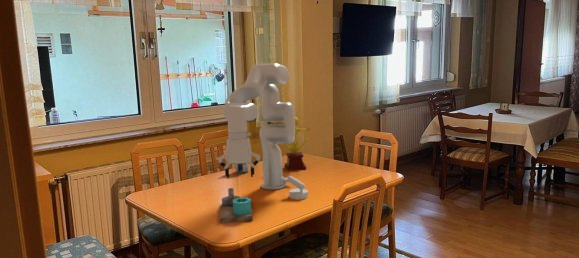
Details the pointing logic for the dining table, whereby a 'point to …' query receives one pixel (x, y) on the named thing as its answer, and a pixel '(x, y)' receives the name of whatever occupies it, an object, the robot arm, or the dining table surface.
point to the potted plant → (295, 153)
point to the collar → (242, 206)
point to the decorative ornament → (241, 168)
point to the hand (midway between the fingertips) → (240, 177)
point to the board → (227, 210)
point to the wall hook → (297, 193)
